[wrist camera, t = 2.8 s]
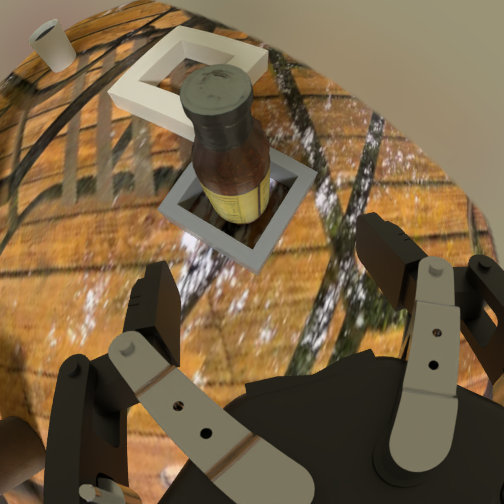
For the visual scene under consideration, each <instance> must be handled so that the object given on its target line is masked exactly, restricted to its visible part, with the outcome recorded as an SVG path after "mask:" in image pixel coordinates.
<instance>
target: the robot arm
mask: <svg viewBox="0 0 504 504" xmlns="http://www.w3.org/2000/svg"><path fill="white" fill-rule="evenodd" d="M356 251H357V255H358V258H359V260H360V261H361V263H362V264H363V265H364V267H365V268H366V270H367V271H368V272H369V274H370V275H371V276H372V278H373V279H374V281H375V282H376V284H377V285H378V286H379V288H380V289H381V291H382V292H383V294H384V295H385V296H386V298H387V299H388V301H389V302H390V304H391V305H392V307H393V308H394V310H395V311H399V310H402V309H404V308H406V309H407V311H408V313H407V317H406V322H405V328H404V334H403V339H402V344H401V349H400V353H399V357H398V358H394V357H387V356H378V357H375V355H374V353H373V351H372V350H371V349H368V350H365V351H362V352H359V353H356V354H353V355H350V356H347V357H344V358H342V359H340V360H338V361H336V362H335V363H333V364H331V365H330V366H328V367H326V368H324V369H323V370H321V371H319V372H317V373H315V374H313V375H303V376H277V377H273V378H269V379H264V380H260V381H255V382H251V383H246V384H245V388H246V393H245V394H243V395H241V396H239V397H237V398H236V399H234V400H233V401H231V402H230V403H229V404H227V405H226V406H225V407H224V408H223V409H222V408H221V407H220V406H219V405H217V404H216V403H215V402H214V401H213V400H212V399H211V398H209V397H208V396H207V395H206V394H205V393H204V392H203V391H202V390H200V389H199V388H198V387H197V386H196V385H195V384H194V383H193V382H192V381H191V380H190V379H188V378H187V377H186V376H185V375H184V374H183V373H182V372H181V371H180V370H179V369H178V368H177V367H180V318H181V299H180V294H179V291H178V288H177V286H176V283H175V281H174V279H173V276H172V274H171V272H170V269H169V267H168V264H167V263H166V261H160V262H156V263H152V264H148V265H147V267H146V271H145V276H144V278H142V279H138V280H137V282H136V283H135V285H134V286H133V288H132V290H131V295H130V300H129V303H128V308H127V313H126V317H125V322H124V327H123V333H122V334H120V335H119V336H117V337H116V338H115V339H114V340H113V341H112V342H111V344H110V346H109V349H108V353H107V354H105V355H103V356H100V357H98V358H96V359H94V360H91V361H90V360H89V359H88V358H87V357H86V356H85V355H83V354H75V355H72V356H70V357H69V358H67V359H66V360H65V361H64V362H63V364H62V365H61V367H60V370H59V373H58V378H57V383H56V388H55V393H54V398H53V404H52V410H51V416H50V423H49V430H48V438H47V447H46V458H45V471H44V504H142V501H141V499H140V497H139V495H138V494H137V493H136V492H135V491H134V490H132V489H131V488H129V482H128V462H127V408H128V407H131V406H133V405H135V404H138V403H141V404H142V405H143V406H144V408H145V409H146V410H147V411H148V413H149V414H150V415H151V416H152V417H153V419H154V420H155V421H156V422H157V423H158V425H159V426H160V427H161V428H162V429H163V430H164V432H165V433H166V434H167V435H168V436H169V437H170V438H171V439H172V440H173V442H174V443H175V444H176V445H177V446H178V447H179V448H180V449H181V450H182V451H183V452H184V453H185V454H186V455H187V456H188V457H189V459H188V461H187V462H186V464H185V465H184V466H183V468H182V469H181V471H180V472H179V474H178V475H177V477H176V478H175V480H174V481H173V482H172V484H171V485H170V487H169V488H168V490H167V491H166V492H165V494H164V495H163V497H162V498H161V499H160V501H159V502H158V504H504V271H503V270H502V268H501V267H500V266H499V265H498V264H497V263H496V262H495V261H494V260H493V259H491V258H490V257H487V256H485V255H474V256H472V257H471V258H470V259H469V262H468V266H467V267H452V266H451V264H450V263H449V262H447V261H446V260H444V259H442V258H440V257H434V256H430V257H429V256H428V255H427V254H426V253H425V252H424V251H423V250H422V249H421V248H420V247H419V246H418V245H417V244H416V243H415V242H414V241H413V240H412V239H410V237H409V236H408V235H407V234H405V232H404V231H403V230H402V229H401V228H399V227H398V226H397V225H395V224H393V223H391V222H389V221H384V220H383V219H382V218H381V217H380V216H379V215H378V214H377V213H375V212H372V213H368V214H363V215H359V216H358V217H357V222H356ZM486 303H487V304H488V305H489V306H490V308H491V309H492V310H493V311H494V313H495V314H496V316H497V319H498V325H497V327H496V325H495V324H494V322H493V321H492V320H491V318H490V317H489V315H488V314H487V313H486V311H485V310H484V307H485V305H486ZM460 331H461V332H462V334H463V336H464V337H465V339H466V340H467V342H468V343H469V345H470V347H471V348H472V350H473V352H474V353H475V355H476V357H477V358H478V360H479V362H480V363H481V365H482V367H483V368H484V370H485V372H486V374H487V375H488V377H489V379H490V381H491V383H492V385H493V397H494V398H493V400H490V399H488V398H485V397H483V396H481V395H479V394H476V393H474V392H472V391H470V390H468V389H465V388H463V387H461V386H459V385H457V377H458V365H459V347H460Z"/></svg>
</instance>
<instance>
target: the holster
mask: <svg viewBox="0 0 504 504" xmlns="http://www.w3.org/2000/svg"><path fill="white" fill-rule="evenodd" d="M269 147H270V146H269ZM269 154H270V178H272V179H274V180H276V181H278V182H280V183H281V184H283V185H285V186H287V187H288V188H290V190H289V192H288V194H287V195H286V197H285V198H284V200H283V202H282V203H281V205H280V206H279V208H278V210H277V211H276V213H275V215H274V216H273V218H272V219H271V221H270V223H269V224H268V226H267V227H266V229H265V231H264V232H263V234H262V235H261V237H260V239H259V240H258V242H257V243H256V245H255V247H254V248H253V250H252V249H251V248H249V247H247V246H246V245H244V244H242V243H241V242H239V241H237V240H236V239H234V238H232V237H231V236H229V235H227V234H226V233H224V232H222V231H221V230H219V229H217V228H216V227H214V226H212V225H211V224H209V223H207V222H206V221H204V220H202V219H201V218H199V217H197V216H196V215H194V214H192V213H190V212H189V210H190V209H191V207H192V206H193V204H194V203H195V201H196V200H197V198H198V197H199V195H200V194H201V193H202V191H203V190H204V189H203V187H202V185H201V183H200V181H199V179H198V178H197V176H196V174H195V171H194V168H193V164H192V162H191V163H190V164H189V166H188V167H187V168H186V170H185V171H184V172H183V174H182V175H181V177H180V178H179V179H178V181H177V182H176V183H175V185H174V186H173V188H172V189H171V190H170V192H169V193H168V195H167V196H166V198H165V199H164V201H163V202H162V203H161V205H160V206H159V208H158V209H157V210H158V211H159V212H160V213H161V214H162V215H163V216H164V217H165V218H166V219H167V220H168V221H169V222H171V223H173V224H174V225H176V226H177V227H179V228H181V229H182V230H184V231H185V232H187V233H189V234H190V235H192V236H194V237H195V238H197V239H198V240H200V241H202V242H203V243H205V244H206V245H208V246H210V247H211V248H213V249H215V250H216V251H218V252H219V253H221V254H223V255H224V256H226V257H228V258H229V259H231V260H233V261H234V262H236V263H237V264H239V265H241V266H242V267H244V268H246V269H247V270H249V271H251V272H252V273H254V274H256V275H257V276H258V275H259V273H260V271H261V270H262V268H263V266H264V265H265V263H266V261H267V260H268V258H269V257H270V255H271V253H272V252H273V250H274V248H275V247H276V245H277V243H278V242H279V240H280V238H281V237H282V235H283V234H284V232H285V230H286V229H287V227H288V225H289V224H290V222H291V220H292V219H293V217H294V215H295V214H296V212H297V210H298V209H299V207H300V205H301V204H302V202H303V200H304V199H305V197H306V195H307V193H308V192H309V190H310V188H311V187H312V184H313V182H314V180H315V177H316V175H317V173H318V172H316V171H314V170H313V169H311V168H309V167H307V166H305V165H304V164H302V163H300V162H298V161H296V160H294V159H293V158H291V157H289V156H287V155H285V154H283V153H281V152H279V151H278V150H276V149H274V148H272V147H270V151H269Z"/></svg>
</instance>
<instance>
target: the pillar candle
mask: <svg viewBox="0 0 504 504" xmlns="http://www.w3.org/2000/svg"><path fill="white" fill-rule="evenodd" d="M45 458H46V452H45V449H44V446H43V444H42V442H41V440H40V438H39V437H38V435H37V434H36V432H35V431H34V430H33V429H32V428H31V427H30V425H29V424H28V423H27V422H25V421H24V420H22V419H20V418H19V417H15V416H11V417H8V418H5V419H3V420H0V496H1V495H2V494H4V493H5V492H7V491H9V490H11V489H12V488H14V487H15V486H17V485H19V484H21V483H22V482H24V481H25V480H28V479H29V478H31V477H32V476H33V475H35V474H37V473H38V472H39V471H41V470H42V469H43V468H44V467H45Z"/></svg>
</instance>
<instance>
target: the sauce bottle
mask: <svg viewBox="0 0 504 504" xmlns="http://www.w3.org/2000/svg"><path fill="white" fill-rule="evenodd" d="M180 101H181V104H182V107H183V110H184V113H185V115H186V116H187V117H188V118H189V119H190V120H191V121H192V124H193V127H194V133H195V138H194V143H193V146H192V152H191V156H192V164H193V168H194V171H195V174H196V176H197V178H198V179H199V181H200V183H201V185H202V187H203V189H204V191H205V193H206V195H207V197H208V198H209V200H210V202H211V204H212V206H213V207H214V209H215V211H216V212H217V214H218V215H219V216H220V217H221V218H223V219H224V220H226V221H228V222H230V223H233V224H236V225H245V224H249V223H251V222H254V221H255V220H257V219H259V218H260V217H261V216H262V215H263V213H264V211H265V209H266V207H267V204H268V201H269V187H270V154H269V151H270V147H269V141H268V140H267V137H266V134H265V132H264V131H263V129H262V126H261V123H260V121H258V120H256V119H255V118H254V117H253V116H252V115H251V110H250V107H251V105H252V102H253V88H252V83H251V80H250V78H249V76H248V75H247V73H246V72H244V71H243V70H242V69H241V68H238V67H236V66H233V65H230V64H215V65H210V66H205V67H202V68H200V69H197V70H195V71H194V72H192V73H191V74H190V75H189V76H188V77H187V78H186V79H185V81H184V82H183V84H182V86H181V88H180Z"/></svg>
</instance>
